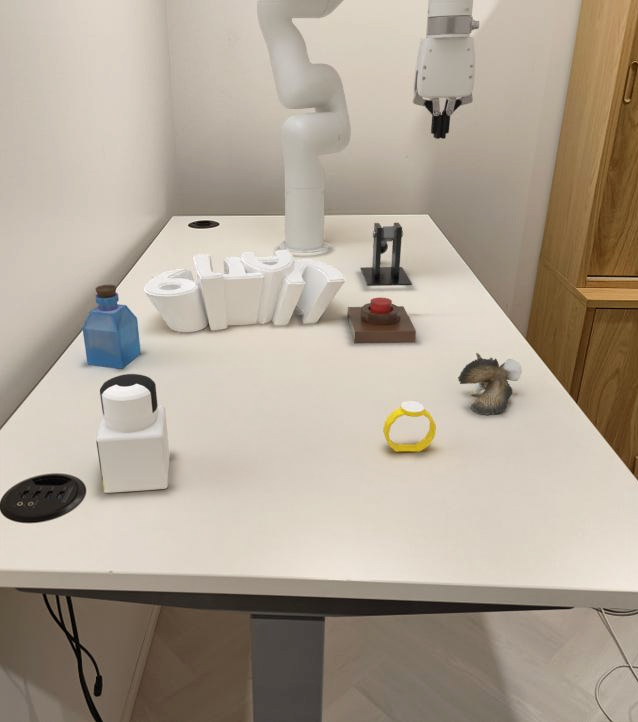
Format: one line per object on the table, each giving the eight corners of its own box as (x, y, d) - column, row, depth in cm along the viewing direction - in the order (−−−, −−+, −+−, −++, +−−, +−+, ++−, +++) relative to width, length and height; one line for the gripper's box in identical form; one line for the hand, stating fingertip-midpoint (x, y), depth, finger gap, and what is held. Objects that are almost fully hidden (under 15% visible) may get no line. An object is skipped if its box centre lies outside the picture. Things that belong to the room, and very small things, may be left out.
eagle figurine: (457, 372, 98) (443, 387, 91) (491, 337, 95) (479, 348, 87) (498, 408, 97) (487, 426, 89) (534, 373, 93) (526, 389, 86)
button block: (347, 318, 123) (348, 297, 121) (402, 317, 123) (404, 296, 121) (354, 343, 112) (355, 321, 110) (415, 343, 112) (416, 320, 110)
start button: (368, 307, 118) (369, 297, 117) (389, 306, 117) (390, 297, 117) (371, 314, 114) (371, 304, 114) (392, 313, 114) (393, 304, 113)
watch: (385, 457, 81) (388, 413, 78) (380, 444, 83) (383, 401, 81) (435, 454, 81) (439, 410, 78) (428, 442, 83) (432, 399, 81)
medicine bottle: (110, 459, 82) (98, 369, 77) (169, 455, 82) (161, 365, 77) (103, 494, 75) (89, 398, 70) (167, 489, 76) (158, 394, 71)
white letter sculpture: (331, 298, 133) (332, 246, 129) (347, 329, 118) (349, 271, 114) (152, 307, 131) (147, 253, 127) (145, 339, 116) (139, 280, 112)
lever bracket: (360, 272, 148) (362, 219, 143) (401, 272, 148) (405, 218, 143) (367, 290, 137) (369, 232, 133) (411, 289, 137) (415, 231, 132)
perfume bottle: (140, 353, 111) (133, 283, 106) (122, 369, 105) (113, 295, 100) (107, 349, 113) (98, 280, 108) (87, 364, 107) (77, 292, 102)
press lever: (372, 255, 150) (371, 241, 150) (386, 255, 150) (386, 241, 150) (381, 239, 137) (380, 224, 137) (396, 239, 137) (396, 224, 137)
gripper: (485, 28, 122) (474, 134, 130) (402, 30, 123) (396, 136, 130) (497, 27, 116) (485, 139, 123) (409, 29, 116) (402, 141, 124)
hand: (439, 137), depth 127 cm, fingers closed
